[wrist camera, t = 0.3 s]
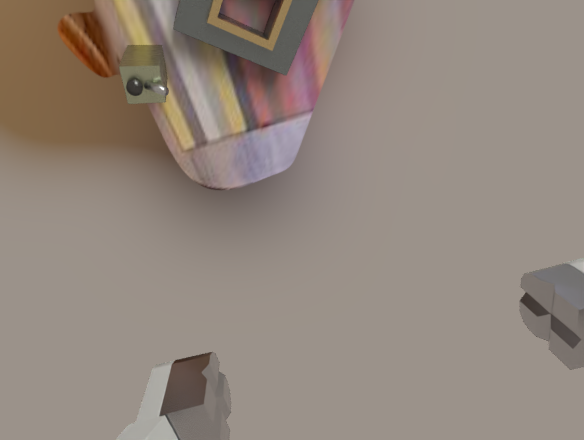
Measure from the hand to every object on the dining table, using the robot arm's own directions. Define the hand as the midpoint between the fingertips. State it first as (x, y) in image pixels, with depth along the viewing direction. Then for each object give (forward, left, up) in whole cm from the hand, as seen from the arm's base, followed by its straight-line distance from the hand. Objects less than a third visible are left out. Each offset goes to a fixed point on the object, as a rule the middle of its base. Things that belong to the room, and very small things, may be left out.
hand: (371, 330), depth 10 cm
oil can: (+11, -6, -51) cm, 53 cm away
